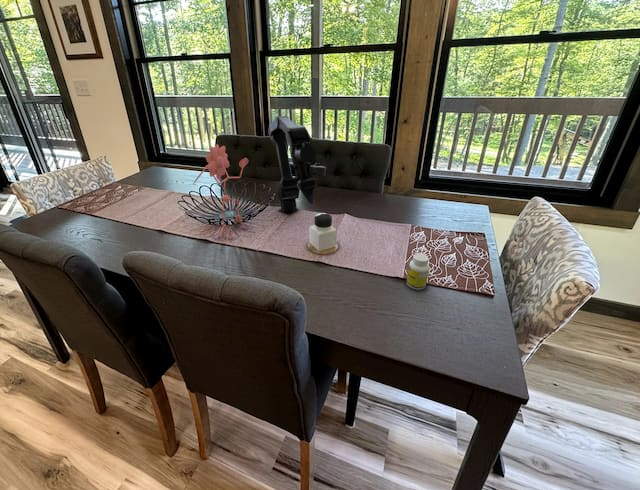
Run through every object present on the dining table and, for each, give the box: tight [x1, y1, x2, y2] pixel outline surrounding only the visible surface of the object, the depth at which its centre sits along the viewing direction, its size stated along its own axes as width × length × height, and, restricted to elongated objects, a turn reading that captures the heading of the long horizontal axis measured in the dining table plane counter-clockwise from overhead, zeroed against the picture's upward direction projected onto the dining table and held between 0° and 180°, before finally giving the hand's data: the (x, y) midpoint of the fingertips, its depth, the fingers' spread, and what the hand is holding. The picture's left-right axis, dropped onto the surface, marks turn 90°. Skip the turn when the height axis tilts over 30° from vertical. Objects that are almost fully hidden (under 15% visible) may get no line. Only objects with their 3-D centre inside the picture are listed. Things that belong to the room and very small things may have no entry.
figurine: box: [193, 143, 249, 240], centre depth 120 cm, size 15×26×35 cm, turn 149°
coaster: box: [306, 240, 339, 255], centre depth 114 cm, size 11×11×1 cm
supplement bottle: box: [405, 252, 431, 291], centre depth 90 cm, size 5×5×10 cm
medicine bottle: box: [309, 212, 338, 252], centre depth 111 cm, size 7×7×12 cm
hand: (310, 201), depth 120 cm, fingers open, 9 cm apart
